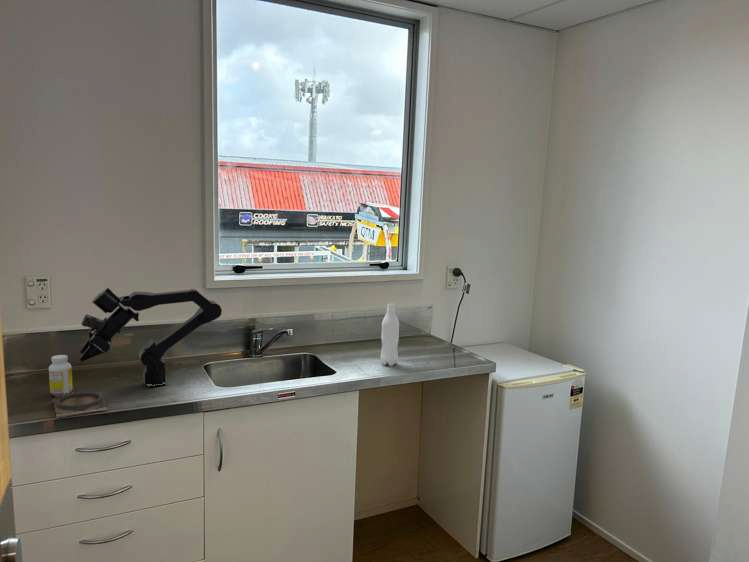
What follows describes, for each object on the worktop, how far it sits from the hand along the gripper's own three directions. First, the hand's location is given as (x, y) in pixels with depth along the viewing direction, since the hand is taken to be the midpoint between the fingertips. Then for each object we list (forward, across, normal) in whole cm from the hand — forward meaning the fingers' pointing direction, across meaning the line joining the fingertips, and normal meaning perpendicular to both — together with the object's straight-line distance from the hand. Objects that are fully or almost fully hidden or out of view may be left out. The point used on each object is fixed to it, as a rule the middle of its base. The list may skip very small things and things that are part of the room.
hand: (80, 356), depth 193 cm
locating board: (+9, +14, +8) cm, 19 cm away
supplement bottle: (+13, 0, +4) cm, 14 cm away
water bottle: (-71, +7, +88) cm, 113 cm away
